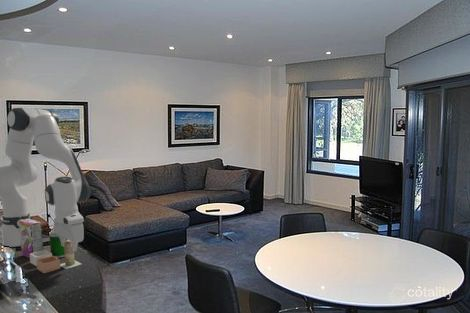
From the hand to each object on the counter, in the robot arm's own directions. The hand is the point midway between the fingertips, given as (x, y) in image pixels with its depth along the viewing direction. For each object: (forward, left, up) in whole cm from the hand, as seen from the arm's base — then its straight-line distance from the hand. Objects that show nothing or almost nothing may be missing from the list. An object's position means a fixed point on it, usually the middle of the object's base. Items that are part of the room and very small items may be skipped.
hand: (69, 248), depth 170 cm
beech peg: (0, 0, -7) cm, 7 cm away
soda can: (-14, +2, -8) cm, 16 cm away
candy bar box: (-24, -6, -8) cm, 26 cm away
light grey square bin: (-12, -7, -8) cm, 16 cm away
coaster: (0, 0, -8) cm, 8 cm away
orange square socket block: (-2, -8, -8) cm, 11 cm away
